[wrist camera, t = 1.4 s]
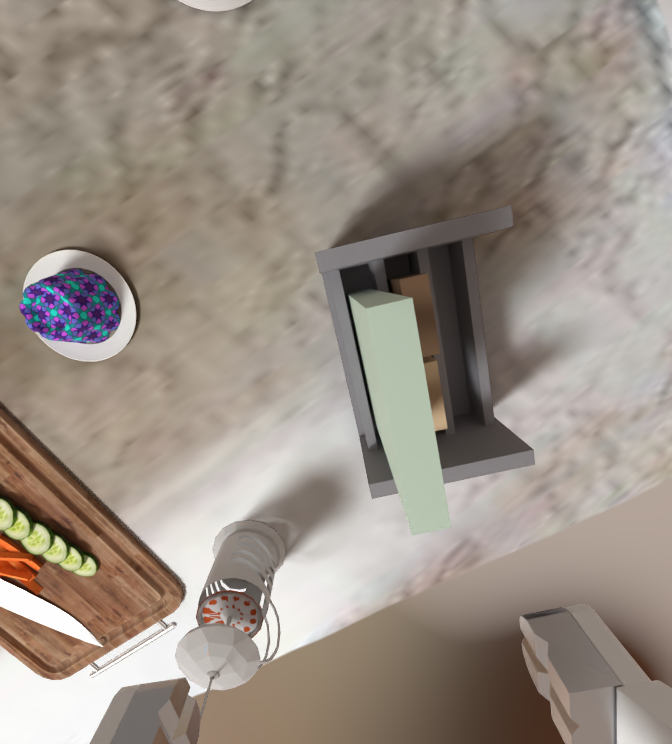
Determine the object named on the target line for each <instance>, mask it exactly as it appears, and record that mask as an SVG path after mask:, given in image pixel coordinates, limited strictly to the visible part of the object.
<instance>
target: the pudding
mask: <svg viewBox="0 0 672 744" xmlns="http://www.w3.org/2000/svg"><path fill="white" fill-rule="evenodd" d="M70 268H83V269H87V270H90V271H93V272H95V273H97V274H98V275H100V276H98V275H96V274H89V275H86V274H85V273H84V272H83V271H82V270H80V269H71V270H67V271H64V272H61V273H59V272H60V271H63V270H65V269H70ZM57 273H58V274H57ZM101 276H102V277H103V278H104V279H105V280H107V281H108V282H109V284H110V285H111V286H112V287H113V288H114V290H115V291H116V293H117V295H118V297H119V299H118V297H117V296H116V294H115V293H114V292H112V291H111V290H109V289H108V288H107V284H106V281H105V280H104V279H103V278H102V277H101ZM119 300H120V303H121V309H122V318H121V322H120V317H119V315H118V313H117V310H118V308H119V306H120V304H119ZM20 311H21V313H22V314H23V315H24V316H25V317H26V324H27V326H28V327H29V328H30V329H31V330H33V331H35V332H36V334H37V335H38V336H39V337H40V339H41V340H43V341H44V342H45V343H46V344H47V345H48V346H49V347H50V348H52V349H53V350H55V351H56V352H58V353H60V354H62V355H64V356H66V357H69V358H72V359H75V360H80V361H99V360H104V359H107V358H110V357H112V356H114V355H115V354H117V353H118V352H120V351H121V350H122V349H123V348H124V347H125V346H126V345H127V343H128V342H129V341H130V339H131V337H132V335H133V332H134V329H135V325H136V306H135V302H134V298H133V295H132V293H131V291H130V288H129V286H128V285H127V283H126V282H125V280H124V279H123V277H122V276H121V275H120V274H119V273H118V272H117V270H116V269H115V268H113V267H112V266H111V265H110V264H109V263H107V262H106V261H104V260H103V259H101V258H99V257H97V256H95V255H93V254H90V253H87V252H83V251H79V250H61V251H56V252H53V253H50V254H47V255H46V256H44V257H43V258H41V259H39V260H38V261H37V262H36V263H35V264H34V265H33V267H32V268H31V270H30V271H29V273H28V275H27V277H26V280H25V282H24V288H23V300H22V301H21V302H20ZM119 324H120V325H119ZM118 326H119V328H118V330H117V331H116V332H115V334H114V335H113V336H112V337H111V338H109V339H108V337H109V332H110V331H112V330H116V329H117V327H118ZM106 339H108V340H106ZM105 340H106V341H105ZM87 342H95V343H99V342H102V343H99V344H93V345H88V344H81V343H87Z"/></svg>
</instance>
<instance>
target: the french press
mask: <svg viewBox="0 0 672 744" xmlns="http://www.w3.org/2000/svg"><path fill="white" fill-rule="evenodd" d="M213 553H214V557H215V561H214V564H213V566H212V569H211V571H210V573H209V576H208V578H207V581H206V583H205V586H204V588H203V591H202V594H201V596H200V600H199V604H198V610H197V615H196V619H197V622H198V625H199V627H197V628H195V629H192V630H190V631H189V632H188V633H187V634H186V635H185V636H184V637H183V639H182V640H181V641H180V642H179V643H178V645H177V650H176V654H175V657H176V660H177V664H178V667H179V669H180V670H181V671H182V672H183V673H184V674H185V676H186V677H187V678H188V679H189V680H191V681H192V682H194V683H196V684H198V685H199V686H201V687H203V688H207V692H206V696H205V699H204V703H203V706H202V709H201V712H200V718H202V714H203V711H204V708H205V704H206V701H207V697H208V694H209V690H210V689H216V690H226V689H231V688H234V687H236V686H239V685H241V684H243V683H245V682H247V681H248V680H249V679H250V678H251V677H252V676H253V675H254V674H255V673H256V672H257V670H258V669H259V668H261V666H262V665H263V664H266V663H267V662H269V661H271V660H272V659H273V657H274V656H275V654H276V653H277V650H278V647H279V640H280V624H279V617H278V614H277V611H276V608H275V607H274V605H273V603H272V601H271V600H270V596H271V590H272V585H273V579H274V574H275V573H276V572H277V570H278V569H279V568H280V567H281V566H282V565H283V562H284V559H285V555H286V550H285V545H284V541H283V539H282V538H281V537H280V535H279V534H278V533H277V531H276V530H274V529H273V528H271V527H269V526H268V525H266V524H265V523H261V522H256V521H252V520H246V521H238V522H234V523H232V524H230V525H228V526H226V527H224V528H223V529H222V530H221V531H220V533H219V534H218V535H217V536H216V538H215V541H214V546H213ZM268 577H269V578H268ZM220 580H222V581H223V583H224V584H226V585H227V586H228V587H229V588H232V589H239V590H240V589H245V588H246V591H245V592H237V591H232V590H228V591H227V590H226V589H225V588H223V587H222V586H221V583H220ZM265 580H266V581H267V583H268V584H267V587H266V586H265V584H264V582H265ZM216 581H217V584H218V587H219V589H220V591H219V592H217V589H216V586H215V582H216ZM210 584H212V587H213V590H214V594H212V593H211V589H210ZM206 587H208V594H209V596H208V597H207V596H206V589H205V588H206ZM262 592H263V593H264V595H265V599H264V604H263V609H262V608H261V606H260V600H261V596H262ZM269 603H270V604H271V606H272V608H273V610H274V612H275V615H276V617H277V623H278V640H277V647H276V649H275V651H274V653H273V654H272V656H271V657H270V658H269V659H267V660H266V658H267V655H268V650H269V645H270V636H269V624H268V621H267V618H266V614H267V611H268V607H269ZM264 619H265V622H266V625H267V633H268V644H267V649H266V654H265V657H264V659H263V661H260V656H259V651H258V647H257V646H256V644H255V643H254V642H253V641H252V639H251V638H253V637H254V636H255V635H256V634H257V633H258V632H259V630H260V629H261V626H262V622H263V620H264ZM259 664H260V665H259ZM200 721H201V720H200Z"/></svg>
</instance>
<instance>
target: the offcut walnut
mask: <svg viewBox="0 0 672 744" xmlns="http://www.w3.org/2000/svg"><path fill="white" fill-rule="evenodd" d="M387 283H388V289H389V293H392V294H397V295H402V296H407V297H411V298H413V304H414V310H415V316H416V322H417V328H418V334H419V340H420V346H421V352H422V358H423V357H428V356H432V355H437V354H440V348H439V342H438V336H437V329H436V323H435V316H434V310H433V303H432V297H431V290H430V284H429V277H428V273H422V274H408V275H403V276H399V277H395V278H390V279H387Z"/></svg>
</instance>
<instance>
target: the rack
mask: <svg viewBox="0 0 672 744" xmlns="http://www.w3.org/2000/svg"><path fill="white" fill-rule="evenodd" d="M509 227H513V216H512V205H510V206H506V207H502V208H497V209H493V210H489V211H485V212H481V213H477V214H472V215H468V216H464V217H460V218H456V219H452V220H447V221H443V222H439V223H435V224H431V225H427V226H423V227H418V228H414V229H410V230H406V231H402V232H398V233H393V234H389V235H385V236H381V237H377V238H373V239H368V240H364V241H360V242H356V243H352V244H348V245H344V246H339V247H335V248H331V249H327V250H323V251H319V252H315V255H316V259H317V264H318V268H319V272H320V273H321V274H322V276H323V280H324V285H325V289H326V294H327V298H328V302H329V307H330V311H331V315H332V320H333V324H334V328H335V333H336V337H337V341H338V346H339V350H340V354H341V359H342V363H343V367H344V372H345V376H346V380H347V385H348V389H349V393H350V398H351V402H352V406H353V411H354V415H355V419H356V424H357V428H358V432H359V437H360V442H361V447H362V452H363V458H364V463H365V468H366V473H367V478H368V483H369V488H370V492H371V497H372V499H373V498H378V497H383V496H388V495H392V494H397V493H398V490H397V487H396V484H395V481H394V478H393V475H392V472H391V468H390V465H389V462H388V459H387V456H386V453H385V450H384V447H383V444H382V441H381V438H380V435H379V432H378V428H377V425H376V422H375V419H374V416H373V413H372V408H371V403H370V399H369V394H368V390H367V385H366V380H365V376H364V371H363V366H362V362H361V357H360V352H359V348H358V343H357V339H356V334H355V329H354V325H353V320H352V315H351V311H350V306H349V301H348V297H347V294H348V293H352V292H356V291H360V290H365V289H374V290H378V291H383V292H388V293H389V289H388V283H387V279H390V278H395V277H399V276H403V275H408V274H422V273H428V277H429V284H430V290H431V297H432V303H433V310H434V316H435V323H436V329H437V336H438V342H439V348H440V354H437V355H432V356H431V357H433V358H434V359H435V360H437V364H438V371H439V377H440V383H441V390H442V396H443V402H444V409H445V415H446V421H447V428H448V429H443V430H438V431H435V435H436V441H437V447H438V452H439V458H440V464H441V470H442V476H443V482H444V484H445V483H449V482H454V481H459V480H464V479H468V478H473V477H478V476H483V475H487V474H492V473H497V472H502V471H506V470H511V469H516V468H521V467H525V466H530V465H535V460H534V450H533V449H532V448H531V447H530V446H528V445H527V444H526V443H525V442H524V441H522V440H521V439H520V438H519V437H518V436H516V435H515V434H514V433H513V432H512V431H510V430H509V429H508V428H507V427H506V426H504V425H503V424H502V423H501V422H500V421H498V420H497V419H496V418H495V417H494V413H493V405H492V396H491V388H490V380H489V371H488V363H487V355H486V346H485V338H484V330H483V321H482V313H481V304H480V296H479V288H478V279H477V271H476V263H475V254H474V246H473V238H475V237H478V236H482V235H485V234H489V233H492V232H496V231H499V230H502V229H506V228H509Z"/></svg>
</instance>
